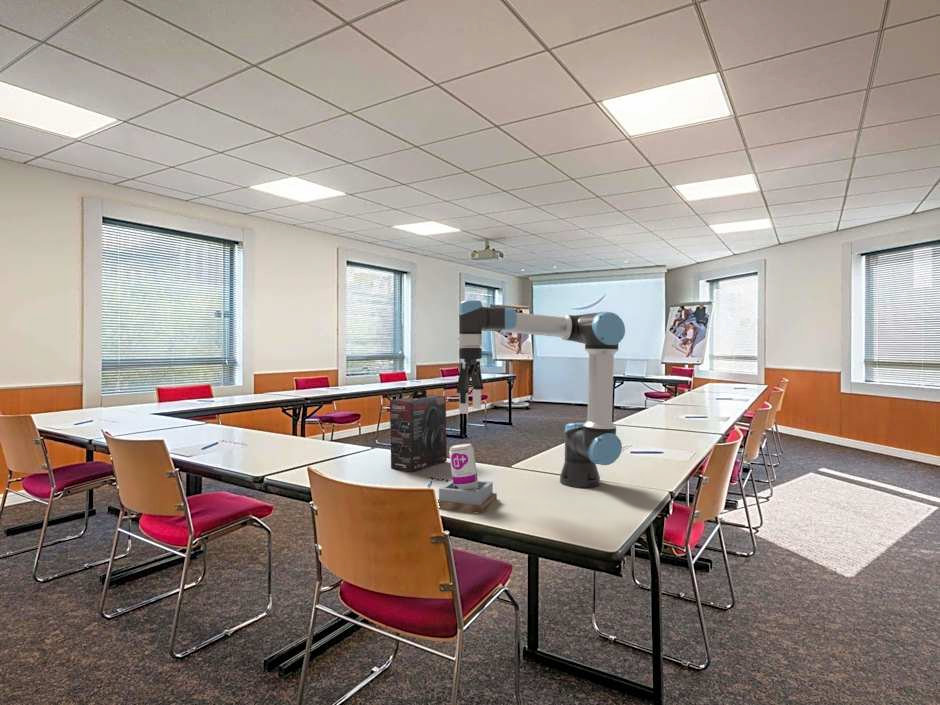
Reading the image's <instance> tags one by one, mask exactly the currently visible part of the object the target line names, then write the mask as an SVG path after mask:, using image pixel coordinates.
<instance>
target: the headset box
mask: <svg viewBox="0 0 940 705" xmlns="http://www.w3.org/2000/svg"><path fill="white" fill-rule="evenodd" d="M446 398H447V396H446V395H437V394H427V389H426V388H425V389H418V390H413V393H412V396H411V397H402V398H395V399H390V400H389V418H390V420H389V422H390V424H389V426H390V429H389V430H390V469H392V470H398V471H405V472H410V473H412V472H416V471H419V470H421V469H425V468H427V467H428V468H429V467H432V466H436V465H438V464H441V463H445V462H447V461H448V460H447V452H448V451H447V450H448V449H447V405H446V404H447V399H446Z"/></svg>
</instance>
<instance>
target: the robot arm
mask: <svg viewBox="0 0 940 705" xmlns="http://www.w3.org/2000/svg"><path fill="white" fill-rule="evenodd" d="M458 312H459V313H458V318H459V319H458V320H459V322H458V325H459V335H458V336H459V337H458V338H457V340H458V341H459V349H458V350H459V351H458V355H459V359H460V360H463V362H460V367H459V374H458V381H457V388H456V393H457V394H459V414H462V415H463V414H468V415H469V393H468V390H469V385H470V382H471V383H472V386H473V388H472V409H476V410H478V409H479V410H481V409H482V390H484V384H483V376H482V371H481V361H480V360H481V359H482V357H483V351H482V350H483V349H482V346H483V331H484V332H487V331H489V332H501V333H511V334H512V333H513V334H524V335H525V334H526V335H535V336H545V337H553V338H554V337H555V338H560V339H562V340H564V341H568V342H569V341H570V342H574V343H579V344H585V345H584V350H585V351H586V352H587V353H588V383H587V384H588V386H587V387H588V389H587V391H588V392H587V420H586V422H572V423H570V422H569V423H566V424H565V428H564V463H563V466H562V469H561V471H560V474H559V482H560V484H562V485H565V486H568V487H573V488H574V487H575V488H594V487H598V486H600V484H601V477H600V472H599V471H598V467H597V465H601V466H609V465H612V464H614V463H615V462H616V461H617V460H618V459H619V458H620V456H621V453H622V449H623V445H622V441H621V439H620V438H619V436H618V435H617V426H616V425H615V424H614V422H613V403H614V402H613V401H614V400H613V395H614V393H613V392H614V366H615V364H614V363H615V362H614V358H615V357H614V355H615V354H616V353H617V352H618V351H619V345H620V344H619V343H621V342H622V340H623V339H624V338H625V334H626V327H625V323H624V321H623V319H622V317H620V316H619V315H618V314H617V313H614V312H611V311H599V312H591V313H583V314H577V315H575V314H574V315H572V314H571V315H570V314H565V315H563V316H554V315H544V314H543V315H542V314H536V313H535V314H534V313H525V312H523V313H522V312H517V311H516V310H515V308H514V307H507V306H505V307H502V306H501V307H499V306H498V307H493V306H491V307H490V306H483V304H482V301H481V300H475V299H473V300H472V299H471V300H467V299H466V300H462V301H461V302H460V303H459V311H458Z"/></svg>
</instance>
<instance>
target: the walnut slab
mask: <svg viewBox="0 0 940 705" xmlns="http://www.w3.org/2000/svg"><path fill="white" fill-rule="evenodd" d="M497 496H498V494H497V492H493V494H492V495H491V496H490V497H489V498H488V499H487V500H486V501H484V502H483V503H482V504H481V505H471V504H462V503H453V502H444V501H439V499H437V500H438V503H439V506H440V509H441V508H442V510H448V509H450V510H449V511H457V510H460V511H459V512H465V511H468V513H474V512H478V513H477V514H482V513H483V512H484V511H485V510H486V509H487V508H488V507H489V506H490V505H491V504H492V503H493V502H494V501H495V500H496V499H497V500H498V497H497ZM497 500H496V501H497ZM496 501H495V502H496ZM495 502H494V503H495ZM494 503H493V504H494ZM493 504H492V505H493ZM490 507H491V506H490ZM490 507H489V508H490ZM489 508H488V509H489ZM488 509H487V510H488ZM487 510H486V511H487ZM486 511H485V512H486ZM485 512H484V513H485ZM484 513H483V514H484Z"/></svg>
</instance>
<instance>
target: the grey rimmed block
mask: <svg viewBox="0 0 940 705" xmlns="http://www.w3.org/2000/svg"><path fill="white" fill-rule="evenodd" d="M493 483H494V482H493V481H485V480H478V488H477V490H476V491H470V490H460V489H454V486H453V478H452V479H451V480H450V481H448V482H446V484H444V485H443V486H441V487H440V488H439V489H438V498H439V501H444V502H453V503H462V504H471V505H481V504H482V503H483V502H484V501H486V500H487V499H488V498H489V497H490V496H491V495H492V494H493V493H494V491H493V489H494V487H493V486H494V485H493Z"/></svg>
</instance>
